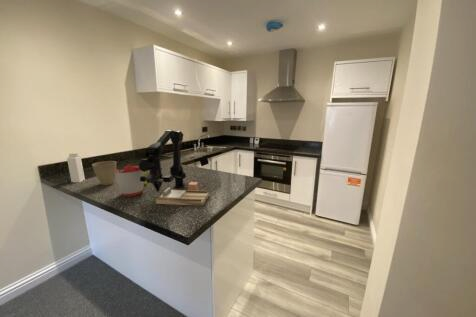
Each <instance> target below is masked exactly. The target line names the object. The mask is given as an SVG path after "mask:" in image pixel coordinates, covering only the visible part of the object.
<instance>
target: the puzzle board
mask: <svg viewBox="0 0 476 317" xmlns="http://www.w3.org/2000/svg"><path fill="white" fill-rule="evenodd" d="M171 190H178V188H177V189H173V188H171ZM180 190H181V191H186V193H185V194H184V195H183V196H182V197H181V198H161V197H162V196H163V193H162V194H161V195H160V196H158V197H157V198H156V199H155V204H157V205H158V204H159V205H161V204H162V205H180V206H182V205H183V206H185V205H186V206H199V207H200V206H204V204H205V203H206V201H207V200H208V198H209V196H210V193H209V191H208V190H201V189H200V190H199V189H198V190H189V189H180ZM206 199H207V200H206Z"/></svg>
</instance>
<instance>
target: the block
mask: <svg viewBox="0 0 476 317" xmlns="http://www.w3.org/2000/svg"><path fill="white" fill-rule="evenodd" d="M187 187H188V190H199V182H198V181H190V182H189V183H188V186H187Z"/></svg>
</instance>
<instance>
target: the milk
mask: <svg viewBox="0 0 476 317" xmlns="http://www.w3.org/2000/svg"><path fill="white" fill-rule="evenodd" d="M66 160H67V164H68V165H67V166H68V171H69V176H70V180H71V183H72V182H73V183H81V182H84V181H85V173H84V167H83V162H82V157H81V155H78V153H69V154H68V157H67V158H66ZM83 180H84V181H83Z"/></svg>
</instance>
